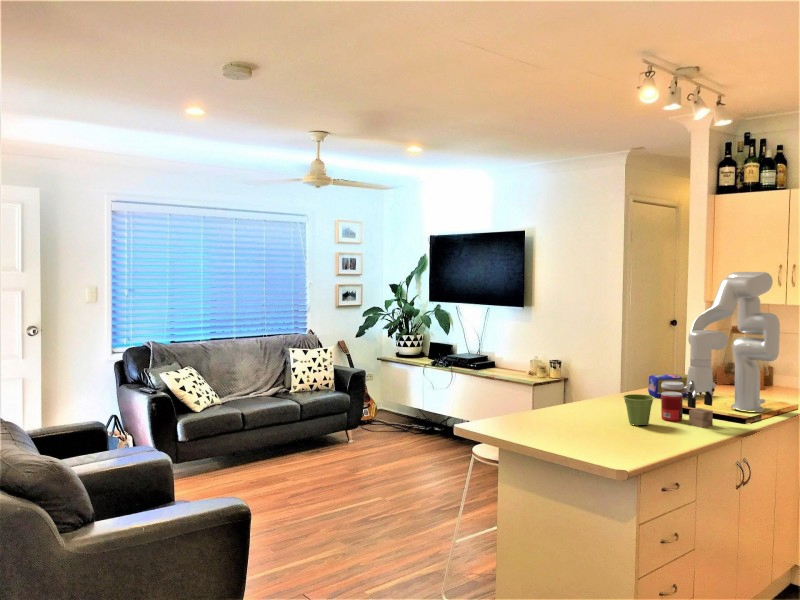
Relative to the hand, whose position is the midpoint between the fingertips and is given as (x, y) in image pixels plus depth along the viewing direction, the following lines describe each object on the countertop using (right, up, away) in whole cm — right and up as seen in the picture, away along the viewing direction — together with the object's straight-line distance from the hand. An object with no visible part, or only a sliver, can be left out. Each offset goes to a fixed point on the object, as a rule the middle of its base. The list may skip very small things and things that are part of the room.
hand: (699, 406), depth 249 cm
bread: (+14, -4, +54) cm, 56 cm away
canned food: (-7, -8, +11) cm, 14 cm away
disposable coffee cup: (+1, -6, +27) cm, 28 cm away
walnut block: (+1, -8, +1) cm, 8 cm away
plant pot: (-23, -8, +5) cm, 24 cm away
